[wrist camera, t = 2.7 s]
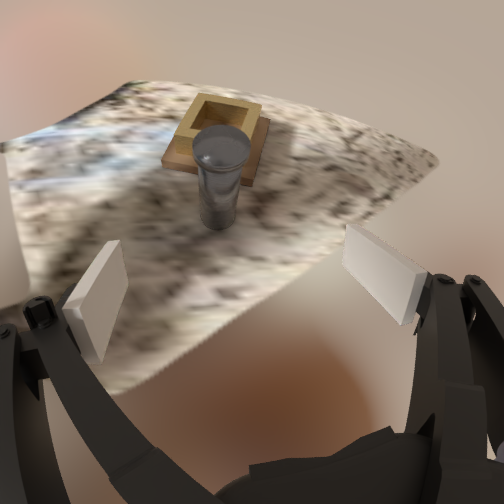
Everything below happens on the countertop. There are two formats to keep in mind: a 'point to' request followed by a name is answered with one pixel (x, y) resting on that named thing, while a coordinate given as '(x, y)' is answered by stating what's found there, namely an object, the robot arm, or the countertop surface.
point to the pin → (220, 172)
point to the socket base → (189, 165)
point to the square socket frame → (215, 118)
